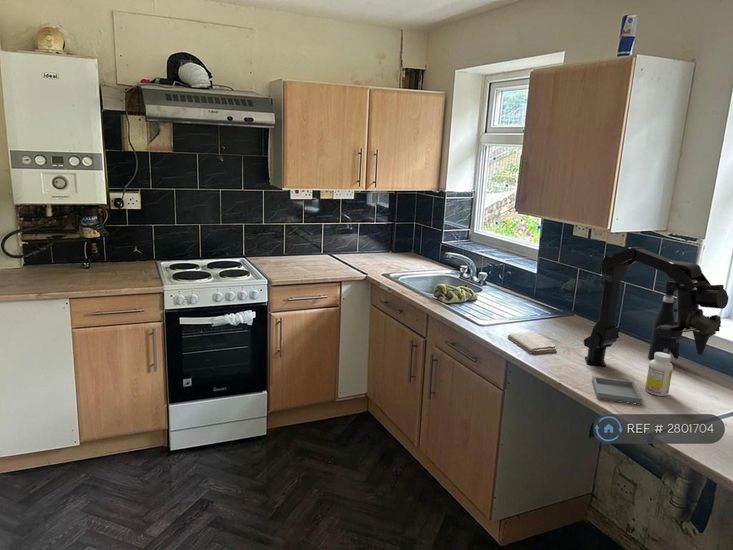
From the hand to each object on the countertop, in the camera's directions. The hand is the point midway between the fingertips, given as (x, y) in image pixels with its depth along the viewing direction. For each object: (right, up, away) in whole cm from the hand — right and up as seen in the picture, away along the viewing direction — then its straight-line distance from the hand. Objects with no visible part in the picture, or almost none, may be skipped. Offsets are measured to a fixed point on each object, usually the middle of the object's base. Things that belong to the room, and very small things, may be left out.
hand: (688, 356), depth 165 cm
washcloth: (-34, -3, +46) cm, 57 cm away
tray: (-19, -13, +8) cm, 24 cm away
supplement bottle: (-5, -13, +9) cm, 17 cm away
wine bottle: (+10, -7, +36) cm, 38 cm away
